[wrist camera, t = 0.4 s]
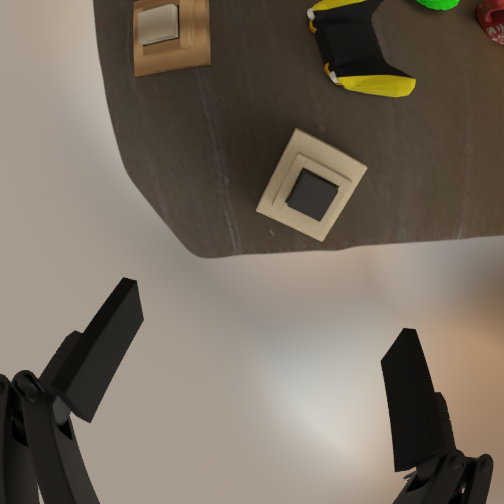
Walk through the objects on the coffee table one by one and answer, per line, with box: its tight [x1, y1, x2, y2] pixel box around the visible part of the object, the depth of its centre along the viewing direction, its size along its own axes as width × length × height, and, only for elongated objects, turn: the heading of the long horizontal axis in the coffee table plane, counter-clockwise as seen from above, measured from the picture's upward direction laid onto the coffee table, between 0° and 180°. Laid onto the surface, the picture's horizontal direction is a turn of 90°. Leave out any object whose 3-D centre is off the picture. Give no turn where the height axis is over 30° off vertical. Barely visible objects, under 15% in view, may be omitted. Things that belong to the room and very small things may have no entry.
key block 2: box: [256, 128, 367, 242], centre depth 34 cm, size 12×10×4 cm
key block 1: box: [133, 0, 211, 77], centre depth 25 cm, size 12×10×4 cm
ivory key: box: [138, 4, 179, 45], centre depth 22 cm, size 4×4×2 cm
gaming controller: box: [307, 0, 416, 97], centre depth 22 cm, size 15×6×10 cm
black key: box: [287, 170, 338, 222], centre depth 32 cm, size 4×4×2 cm
